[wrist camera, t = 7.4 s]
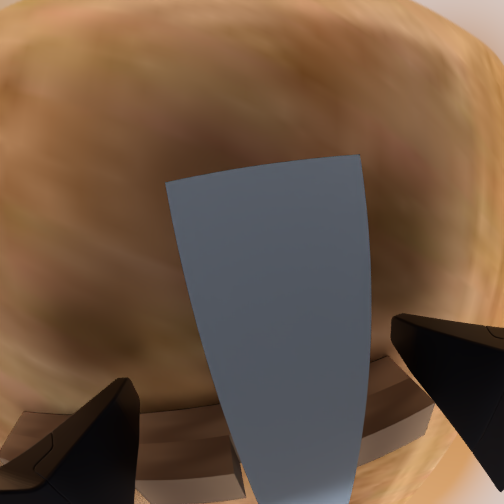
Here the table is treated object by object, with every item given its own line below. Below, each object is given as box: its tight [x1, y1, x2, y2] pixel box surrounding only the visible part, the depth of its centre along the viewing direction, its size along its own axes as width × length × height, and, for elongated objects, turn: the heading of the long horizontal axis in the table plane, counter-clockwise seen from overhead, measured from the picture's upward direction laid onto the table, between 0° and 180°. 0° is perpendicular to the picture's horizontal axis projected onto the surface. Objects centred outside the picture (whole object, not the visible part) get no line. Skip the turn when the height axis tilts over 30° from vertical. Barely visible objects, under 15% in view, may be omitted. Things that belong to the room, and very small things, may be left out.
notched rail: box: [0, 356, 435, 504], centre depth 10 cm, size 20×2×4 cm, turn 100°
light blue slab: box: [165, 154, 371, 504], centre depth 8 cm, size 14×2×6 cm, turn 9°
